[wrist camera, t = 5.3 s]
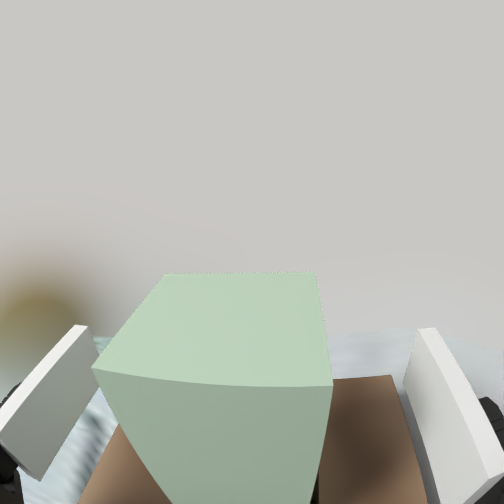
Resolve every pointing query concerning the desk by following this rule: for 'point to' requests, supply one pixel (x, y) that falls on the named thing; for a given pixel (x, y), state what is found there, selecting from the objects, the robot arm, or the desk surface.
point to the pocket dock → (331, 462)
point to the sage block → (224, 386)
